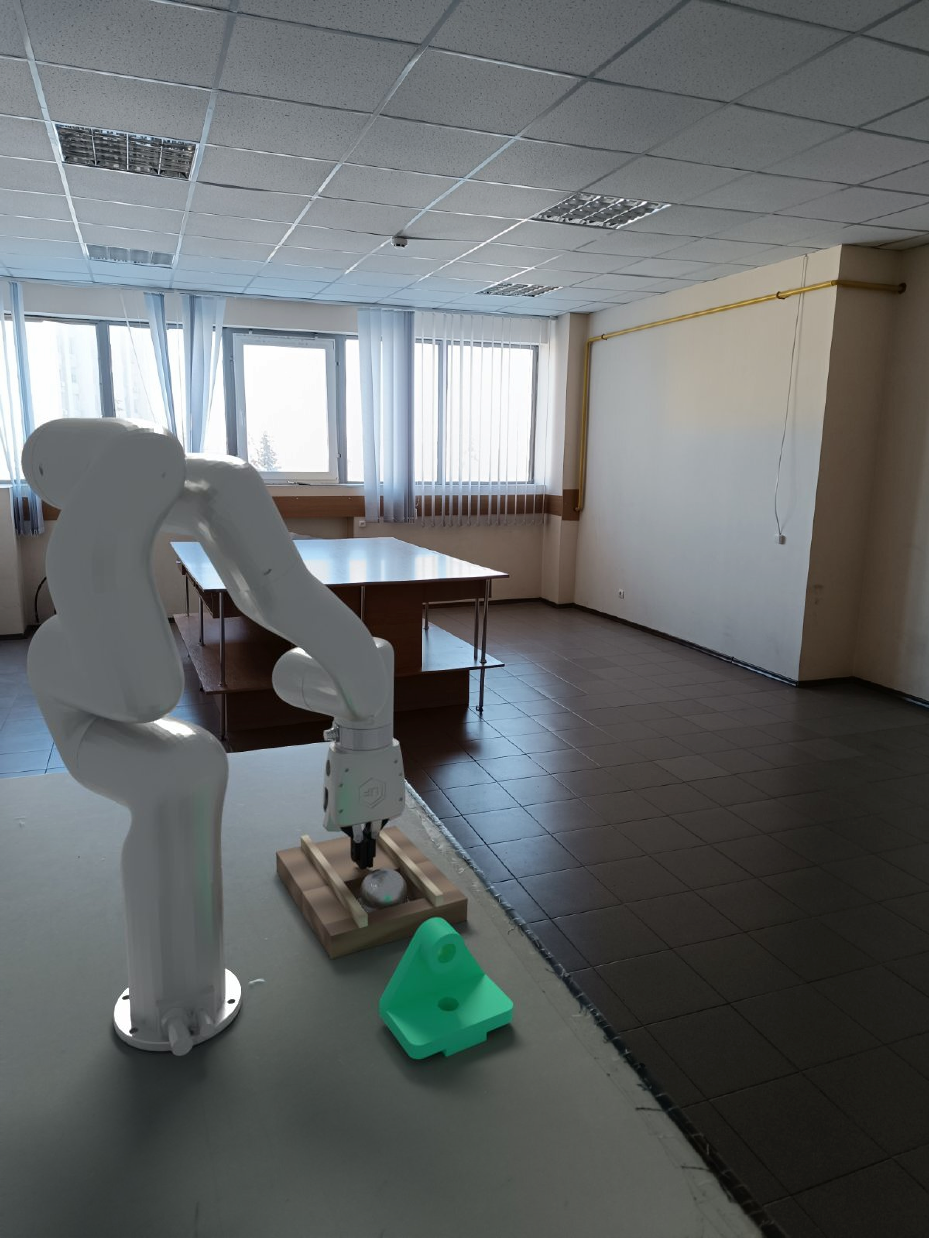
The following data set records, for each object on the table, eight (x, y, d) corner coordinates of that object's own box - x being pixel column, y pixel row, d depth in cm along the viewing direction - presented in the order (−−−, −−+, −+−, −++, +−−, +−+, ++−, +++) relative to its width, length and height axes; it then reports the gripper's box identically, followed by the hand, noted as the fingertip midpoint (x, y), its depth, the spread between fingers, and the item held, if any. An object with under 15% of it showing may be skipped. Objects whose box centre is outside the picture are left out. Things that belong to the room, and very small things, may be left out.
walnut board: (466, 919, 102) (468, 887, 101) (331, 959, 94) (331, 924, 93) (395, 844, 121) (395, 816, 120) (276, 871, 112) (276, 841, 111)
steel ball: (372, 853, 102) (383, 865, 107) (344, 896, 100) (357, 905, 105) (411, 878, 100) (420, 888, 105) (383, 922, 98) (394, 930, 103)
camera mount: (413, 1071, 77) (415, 976, 75) (378, 1023, 84) (379, 934, 82) (516, 1028, 84) (520, 939, 81) (476, 986, 90) (480, 903, 88)
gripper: (317, 752, 97) (318, 890, 101) (428, 734, 104) (425, 864, 108) (298, 732, 104) (299, 863, 107) (404, 716, 111) (402, 840, 115)
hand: (363, 863), depth 108 cm, fingers closed
